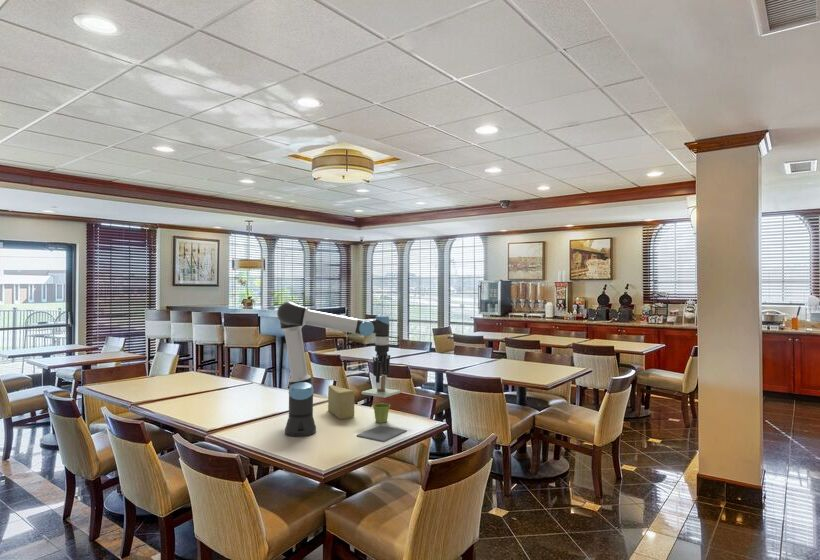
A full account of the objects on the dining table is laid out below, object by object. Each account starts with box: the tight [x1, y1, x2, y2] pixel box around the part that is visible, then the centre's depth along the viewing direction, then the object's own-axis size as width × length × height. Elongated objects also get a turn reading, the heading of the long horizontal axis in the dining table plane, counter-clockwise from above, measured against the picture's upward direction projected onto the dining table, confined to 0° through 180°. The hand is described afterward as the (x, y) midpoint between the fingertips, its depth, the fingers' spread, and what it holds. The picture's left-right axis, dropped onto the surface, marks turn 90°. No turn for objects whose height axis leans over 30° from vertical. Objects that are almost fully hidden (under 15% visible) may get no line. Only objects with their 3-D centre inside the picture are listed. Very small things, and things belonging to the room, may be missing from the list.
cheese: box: [327, 384, 355, 420], centre depth 269 cm, size 22×10×15 cm, turn 36°
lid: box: [361, 374, 401, 399], centre depth 255 cm, size 15×15×9 cm
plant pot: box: [372, 403, 391, 424], centre depth 254 cm, size 9×9×9 cm
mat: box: [356, 424, 408, 443], centre depth 232 cm, size 20×16×1 cm
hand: (381, 387), depth 254 cm, fingers closed on lid, 4 cm apart
